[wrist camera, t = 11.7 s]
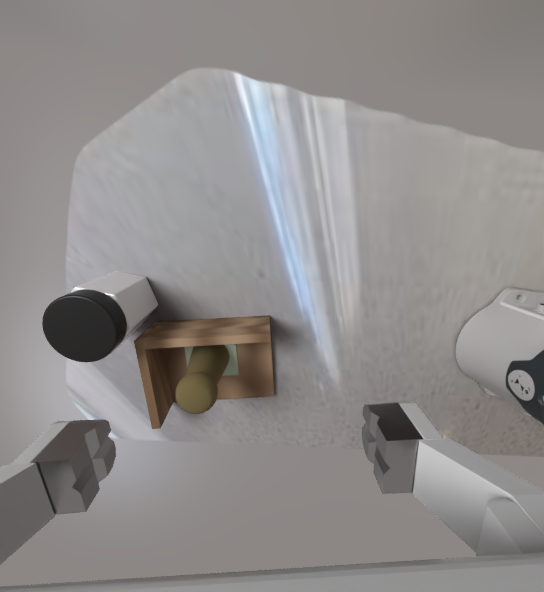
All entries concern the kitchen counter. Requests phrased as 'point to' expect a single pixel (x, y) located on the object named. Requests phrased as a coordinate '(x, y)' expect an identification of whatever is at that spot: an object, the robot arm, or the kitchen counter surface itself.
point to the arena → (188, 333)
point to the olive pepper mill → (202, 378)
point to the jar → (98, 315)
